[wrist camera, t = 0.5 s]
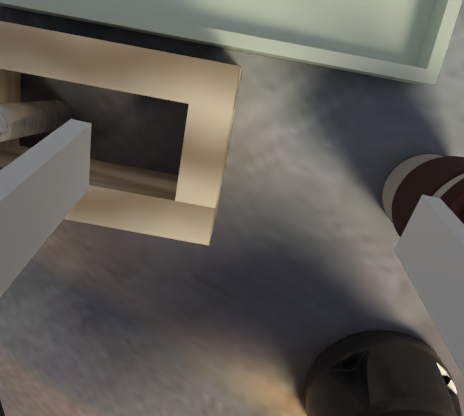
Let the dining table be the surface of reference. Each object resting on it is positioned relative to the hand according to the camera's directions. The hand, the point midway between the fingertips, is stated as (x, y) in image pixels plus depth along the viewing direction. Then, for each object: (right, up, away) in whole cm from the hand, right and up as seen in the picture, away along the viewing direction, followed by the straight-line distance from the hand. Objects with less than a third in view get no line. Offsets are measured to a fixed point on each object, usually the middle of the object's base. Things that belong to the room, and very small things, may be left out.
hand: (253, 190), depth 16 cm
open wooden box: (-12, +7, +20) cm, 24 cm away
